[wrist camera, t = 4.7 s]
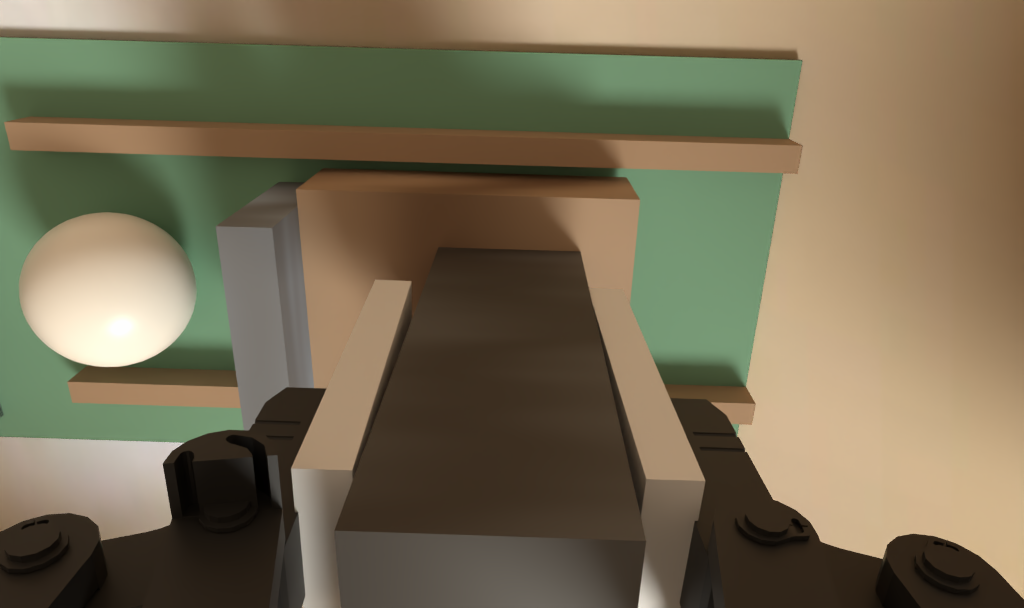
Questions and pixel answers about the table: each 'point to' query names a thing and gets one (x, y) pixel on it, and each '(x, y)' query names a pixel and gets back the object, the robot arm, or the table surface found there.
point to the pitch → (376, 146)
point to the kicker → (456, 376)
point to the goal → (0, 412)
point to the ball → (107, 289)
